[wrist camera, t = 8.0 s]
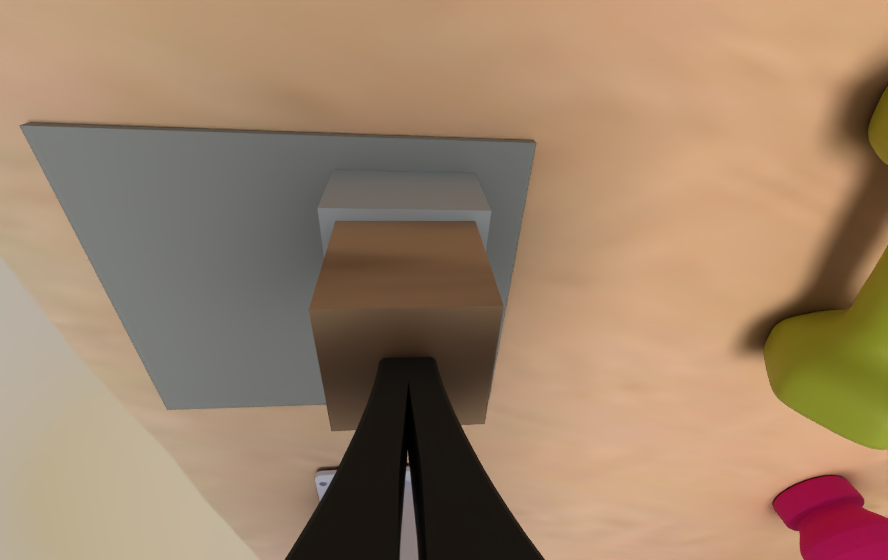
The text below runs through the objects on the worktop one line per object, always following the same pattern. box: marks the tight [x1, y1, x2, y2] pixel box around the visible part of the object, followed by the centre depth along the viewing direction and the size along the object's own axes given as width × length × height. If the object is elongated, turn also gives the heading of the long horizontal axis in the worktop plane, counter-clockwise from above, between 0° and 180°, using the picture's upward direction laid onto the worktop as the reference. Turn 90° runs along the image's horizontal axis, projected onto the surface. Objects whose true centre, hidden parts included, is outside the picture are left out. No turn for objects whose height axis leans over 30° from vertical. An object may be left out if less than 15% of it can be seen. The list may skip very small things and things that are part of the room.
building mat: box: [19, 123, 536, 410], centre depth 19 cm, size 15×18×1 cm
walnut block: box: [309, 221, 504, 431], centre depth 12 cm, size 4×4×4 cm
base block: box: [317, 170, 491, 257], centre depth 16 cm, size 6×6×4 cm
